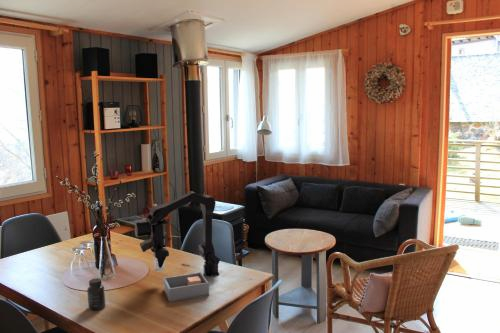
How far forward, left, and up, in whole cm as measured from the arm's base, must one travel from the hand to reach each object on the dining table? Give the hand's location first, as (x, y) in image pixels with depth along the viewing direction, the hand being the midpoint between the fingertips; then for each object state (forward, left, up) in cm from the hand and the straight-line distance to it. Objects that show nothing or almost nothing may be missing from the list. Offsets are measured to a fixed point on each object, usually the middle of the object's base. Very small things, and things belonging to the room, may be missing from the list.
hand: (159, 265), depth 207 cm
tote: (-9, +14, -9) cm, 19 cm away
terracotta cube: (-13, +14, -8) cm, 21 cm away
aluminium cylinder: (0, 0, -2) cm, 2 cm away
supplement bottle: (+29, +14, -9) cm, 33 cm away
